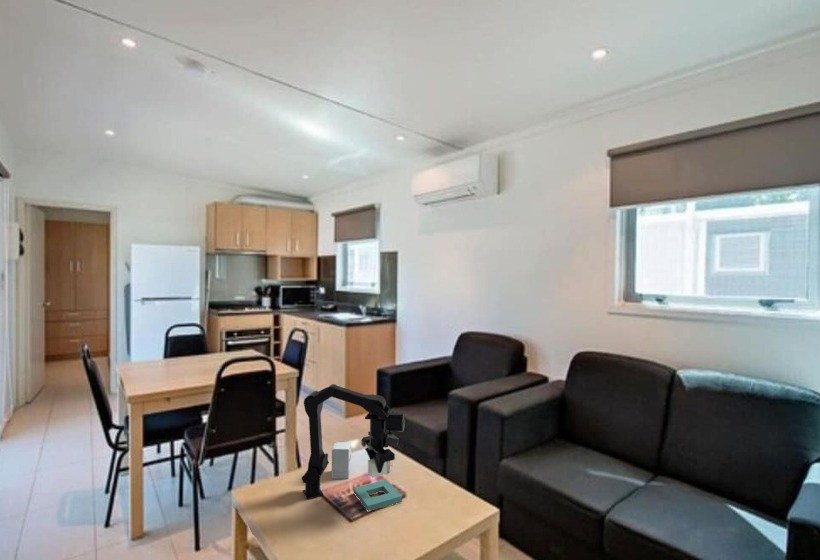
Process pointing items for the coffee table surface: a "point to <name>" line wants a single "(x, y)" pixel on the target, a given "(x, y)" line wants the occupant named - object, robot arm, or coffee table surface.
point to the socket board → (378, 501)
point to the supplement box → (341, 460)
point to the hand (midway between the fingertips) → (377, 470)
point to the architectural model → (389, 466)
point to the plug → (373, 470)
